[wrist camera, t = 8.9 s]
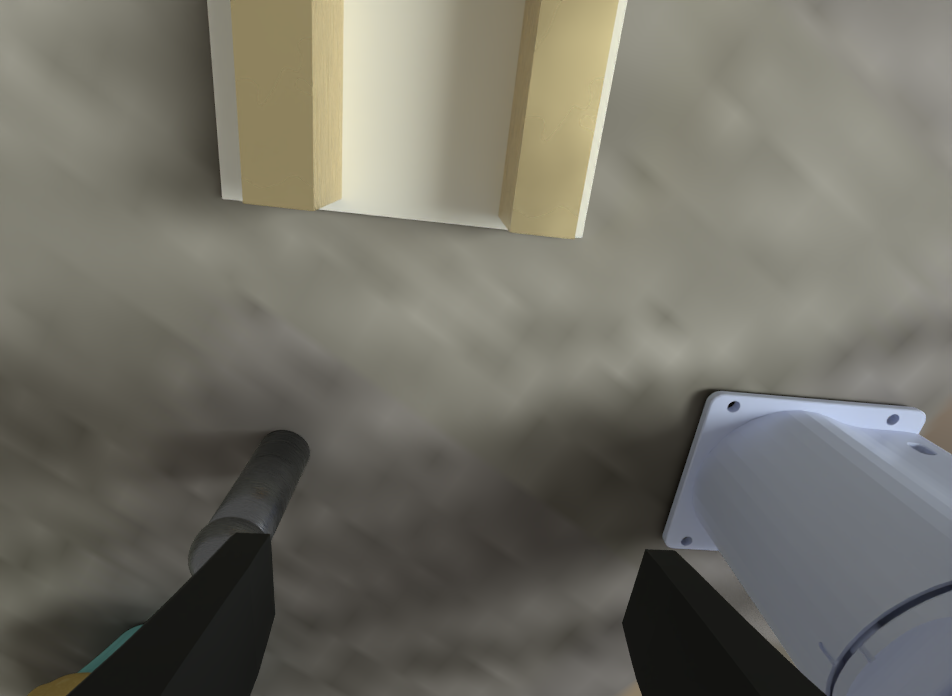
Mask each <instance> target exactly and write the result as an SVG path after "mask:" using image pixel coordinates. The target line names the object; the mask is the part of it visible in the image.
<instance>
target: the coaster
mask: <svg viewBox="0 0 952 696" xmlns="http://www.w3.org/2000/svg"><path fill="white" fill-rule="evenodd" d="M207 6H208V20H209V33H210V46H211V59H212V72H213V85H214V98H215V111H216V124H217V137H218V150H219V163H220V176H221V189H222V199H229V200H238V201H243V198H242V182H241V166H240V150H239V134H238V118H237V102H236V85H235V69H234V53H233V37H232V21H231V5H230V0H207ZM626 6H627V0H619V2H618V8H617V13H616V18H615V24H614V29H613V35H612V40H611V45H610V51H609V56H608V61H607V67H606V72H605V78H604V83H603V88H602V94H601V99H600V104H599V110H598V115H597V121H596V126H595V131H594V137H593V142H592V147H591V153H590V158H589V164H588V169H587V174H586V180H585V185H584V190H583V196H582V201H581V207H580V212H579V217H578V223H577V228H576V233H575V237H577V238H582V235H583V230H584V225H585V219H586V214H587V209H588V204H589V198H590V193H591V188H592V183H593V178H594V172H595V167H596V162H597V157H598V152H599V146H600V141H601V136H602V131H603V125H604V120H605V115H606V110H607V105H608V99H609V94H610V89H611V84H612V79H613V73H614V68H615V63H616V58H617V52H618V47H619V42H620V37H621V32H622V26H623V21H624V16H625V11H626ZM524 8H525V0H344V22H343V118H342V199H340V200H338V201H335V202H333V203H331V204H329V205H326V206H324V207H322V208H320V209H321V210H330V211H339V212H348V213H357V214H366V215H376V216H385V217H394V218H403V219H412V220H421V221H430V222H440V223H449V224H458V225H467V226H476V227H485V228H495V229H504V230H508V229H507V228H506V227H505V225H504V224H503V222H502V221H501V219H500V218H499V217H498V214H499V206H500V198H501V190H502V182H503V174H504V166H505V158H506V150H507V142H508V134H509V127H510V119H511V111H512V103H513V95H514V87H515V79H516V71H517V63H518V55H519V47H520V40H521V32H522V24H523V16H524Z"/></svg>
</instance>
